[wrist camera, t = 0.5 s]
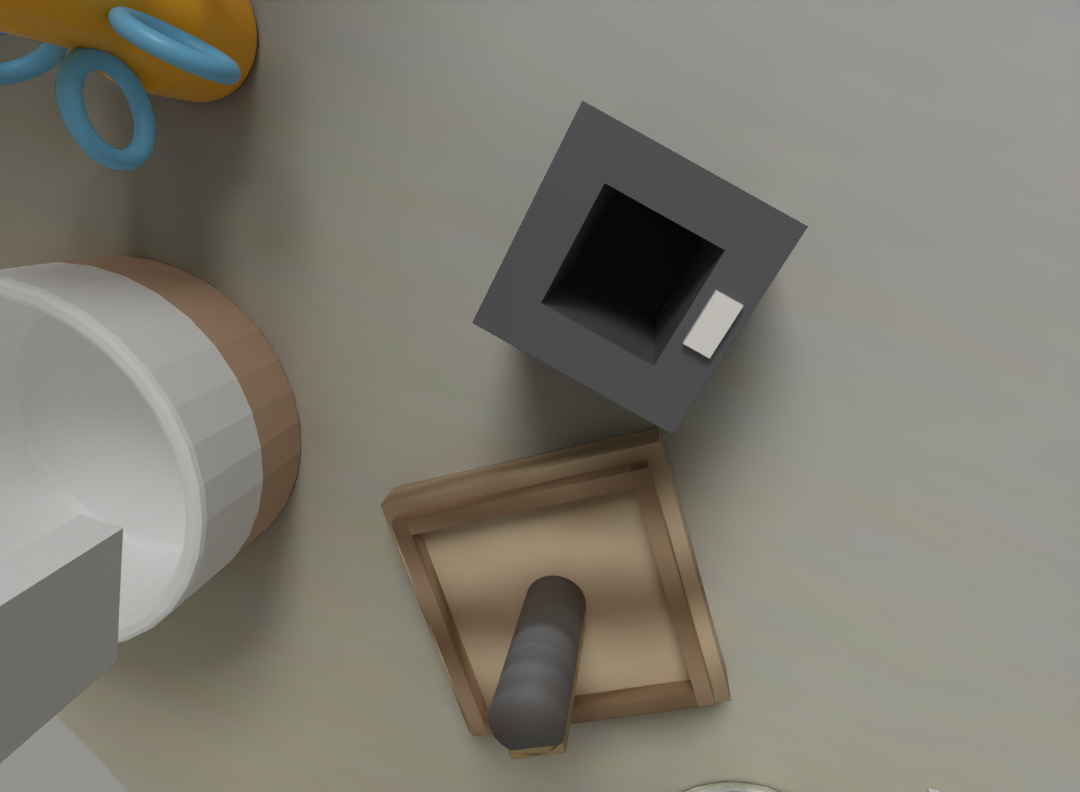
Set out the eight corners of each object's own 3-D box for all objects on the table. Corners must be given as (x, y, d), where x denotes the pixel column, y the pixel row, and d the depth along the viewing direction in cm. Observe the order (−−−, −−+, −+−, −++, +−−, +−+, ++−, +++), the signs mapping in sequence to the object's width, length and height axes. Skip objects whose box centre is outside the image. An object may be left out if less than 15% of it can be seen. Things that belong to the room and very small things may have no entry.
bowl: (367, 464, 35) (283, 543, 27) (158, 604, 40) (36, 705, 32) (150, 183, 33) (-11, 181, 25) (-44, 370, 38) (-229, 418, 30)
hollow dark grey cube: (516, 290, 31) (469, 324, 23) (601, 124, 28) (581, 99, 21) (668, 375, 31) (672, 437, 23) (767, 217, 28) (809, 227, 21)
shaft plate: (395, 487, 35) (299, 596, 26) (659, 426, 32) (661, 526, 22) (479, 707, 38) (422, 876, 29) (726, 672, 35) (752, 850, 26)
